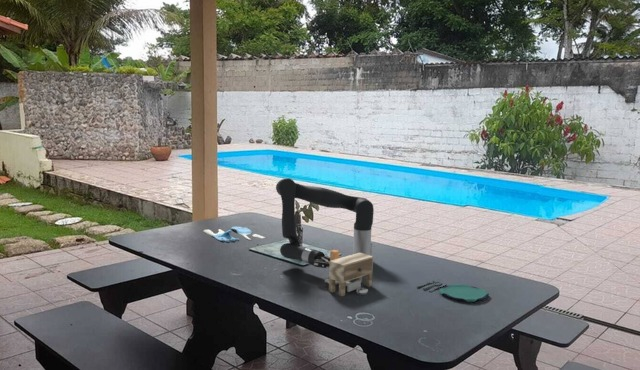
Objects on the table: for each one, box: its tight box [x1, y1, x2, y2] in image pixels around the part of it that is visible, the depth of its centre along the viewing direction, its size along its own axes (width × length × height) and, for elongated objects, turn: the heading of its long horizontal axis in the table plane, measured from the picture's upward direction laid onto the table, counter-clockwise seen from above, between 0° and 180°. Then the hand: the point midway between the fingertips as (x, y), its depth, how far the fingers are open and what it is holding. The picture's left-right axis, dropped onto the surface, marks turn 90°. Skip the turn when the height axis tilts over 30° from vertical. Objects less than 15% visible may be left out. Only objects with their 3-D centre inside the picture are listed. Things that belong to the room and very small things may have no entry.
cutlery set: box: [416, 280, 489, 303], centre depth 242 cm, size 20×30×2 cm, turn 46°
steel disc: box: [355, 286, 369, 296], centre depth 238 cm, size 5×5×2 cm
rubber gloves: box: [203, 226, 266, 243], centre depth 332 cm, size 27×33×6 cm
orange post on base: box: [324, 249, 362, 293], centre depth 246 cm, size 16×8×15 cm, turn 45°
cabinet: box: [328, 253, 374, 297], centre depth 241 cm, size 10×20×14 cm, turn 134°
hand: (339, 265), depth 247 cm, fingers closed on orange post on base, 3 cm apart
